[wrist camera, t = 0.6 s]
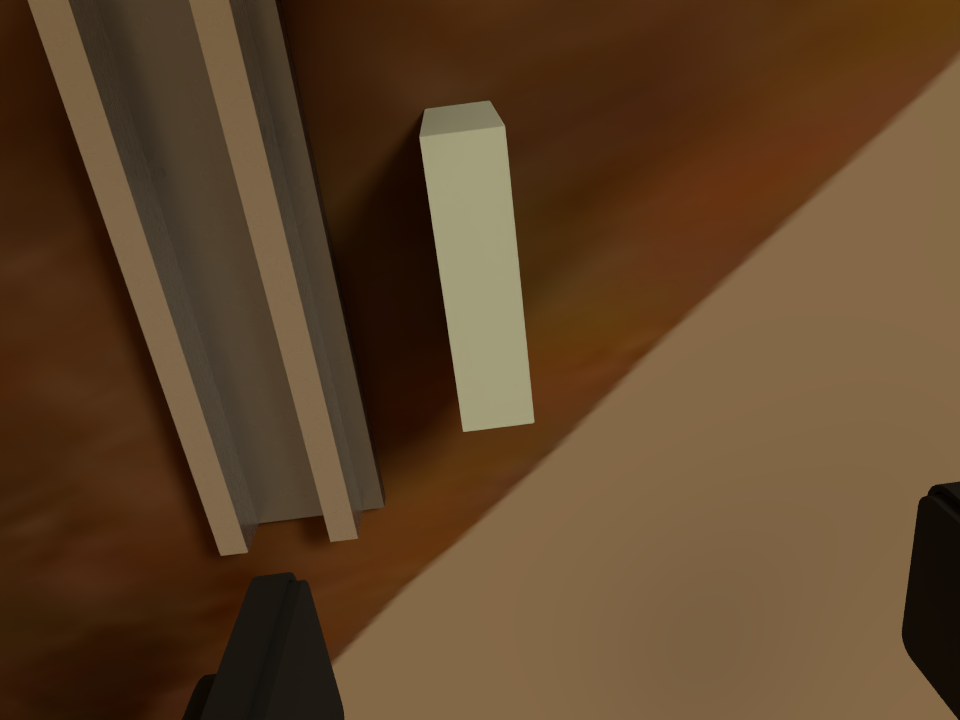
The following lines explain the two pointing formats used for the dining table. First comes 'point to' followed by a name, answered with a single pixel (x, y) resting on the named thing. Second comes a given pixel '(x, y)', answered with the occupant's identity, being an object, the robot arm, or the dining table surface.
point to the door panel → (478, 262)
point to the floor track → (222, 250)
